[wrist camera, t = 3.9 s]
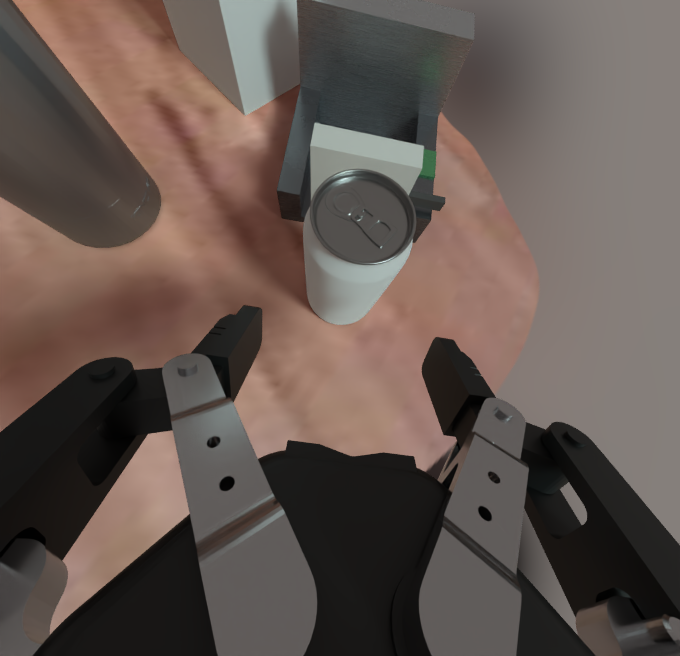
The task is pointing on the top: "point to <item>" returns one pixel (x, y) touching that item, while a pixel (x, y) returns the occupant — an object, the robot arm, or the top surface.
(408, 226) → the can
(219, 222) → the top surface
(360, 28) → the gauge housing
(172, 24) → the milk
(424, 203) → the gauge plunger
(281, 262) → the top surface
